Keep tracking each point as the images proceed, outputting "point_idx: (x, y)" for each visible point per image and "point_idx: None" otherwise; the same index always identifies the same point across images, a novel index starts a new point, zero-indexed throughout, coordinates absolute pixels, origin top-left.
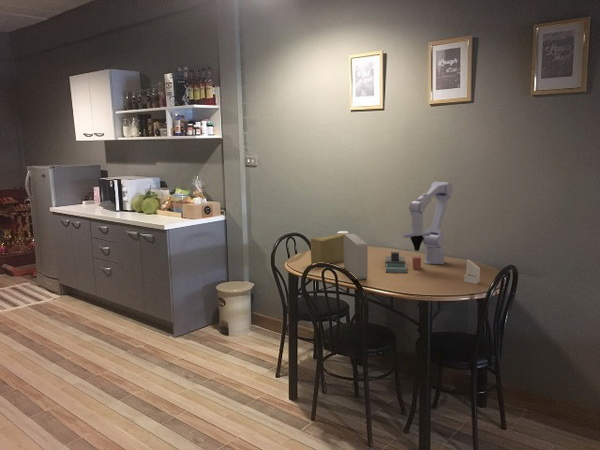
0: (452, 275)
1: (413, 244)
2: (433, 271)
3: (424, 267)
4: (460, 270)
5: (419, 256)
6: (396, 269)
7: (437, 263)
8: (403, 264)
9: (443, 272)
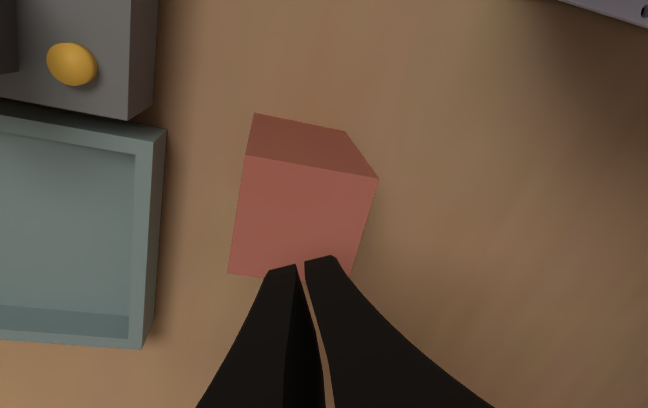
0: (498, 384)
1: (223, 387)
2: (414, 287)
3: (388, 141)
4: (638, 271)
5: (355, 196)
6: (27, 336)
7: (603, 12)
8: (117, 148)
9: (479, 317)
